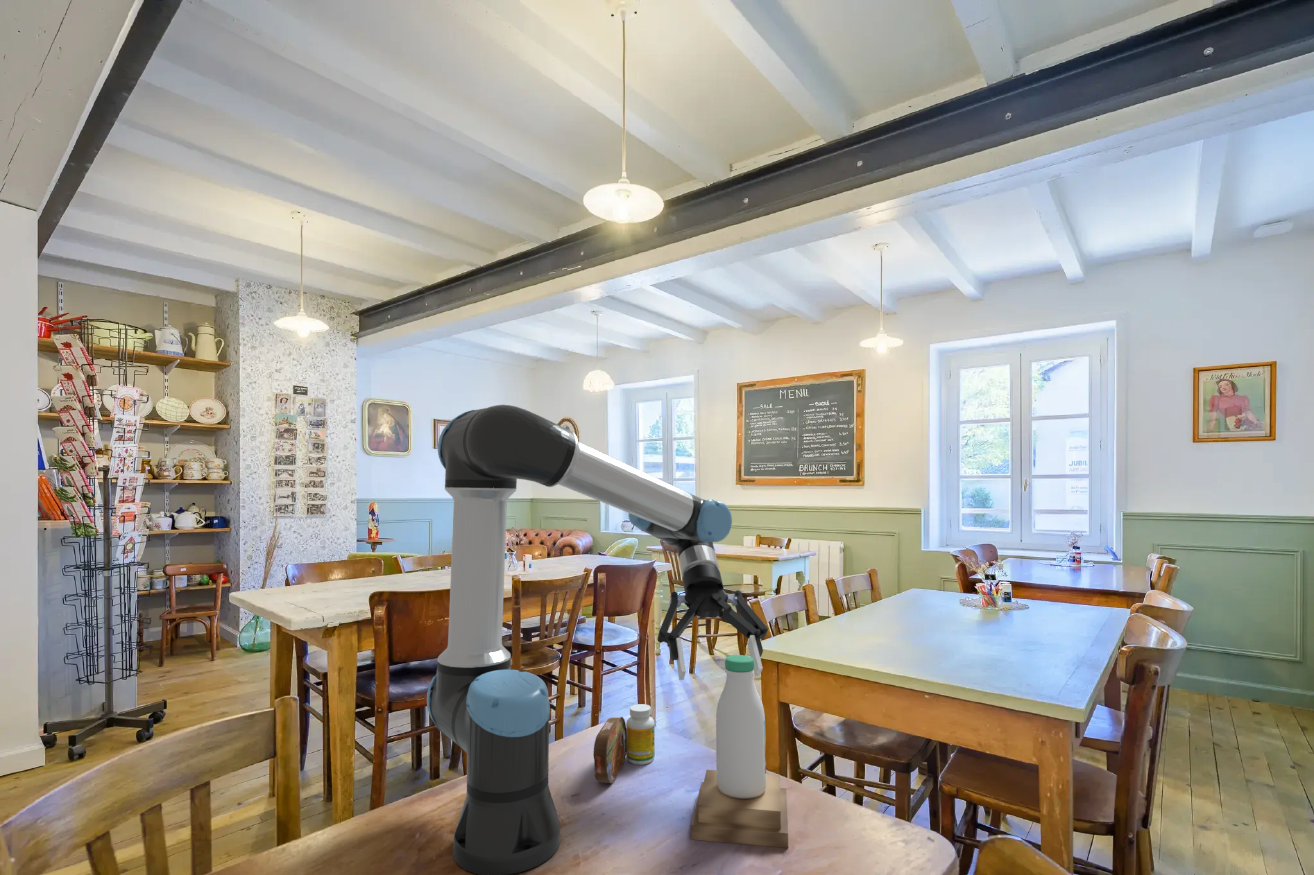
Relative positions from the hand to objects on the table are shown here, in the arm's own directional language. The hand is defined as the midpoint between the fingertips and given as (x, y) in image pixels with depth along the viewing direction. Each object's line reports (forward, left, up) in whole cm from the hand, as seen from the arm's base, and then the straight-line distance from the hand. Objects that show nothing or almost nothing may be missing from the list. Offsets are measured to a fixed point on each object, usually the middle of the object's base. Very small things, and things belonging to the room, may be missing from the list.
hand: (721, 674), depth 113 cm
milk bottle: (+4, -9, -15) cm, 18 cm away
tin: (-20, +3, -19) cm, 28 cm away
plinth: (+4, -10, -19) cm, 22 cm away
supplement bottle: (-16, +9, -19) cm, 27 cm away
